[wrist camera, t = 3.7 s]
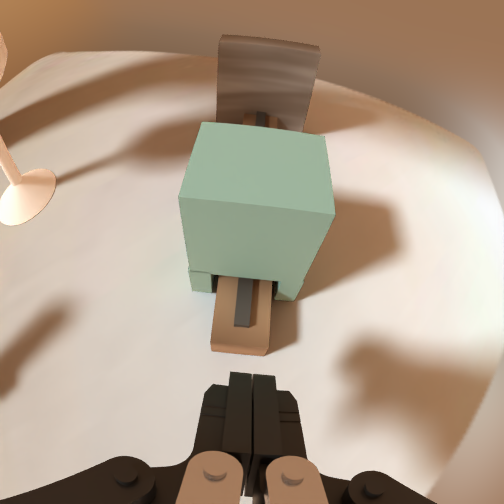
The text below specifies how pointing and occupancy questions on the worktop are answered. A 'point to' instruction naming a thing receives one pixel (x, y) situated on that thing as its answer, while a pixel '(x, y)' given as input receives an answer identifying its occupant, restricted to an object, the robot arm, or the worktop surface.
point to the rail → (262, 115)
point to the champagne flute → (22, 180)
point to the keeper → (255, 205)
